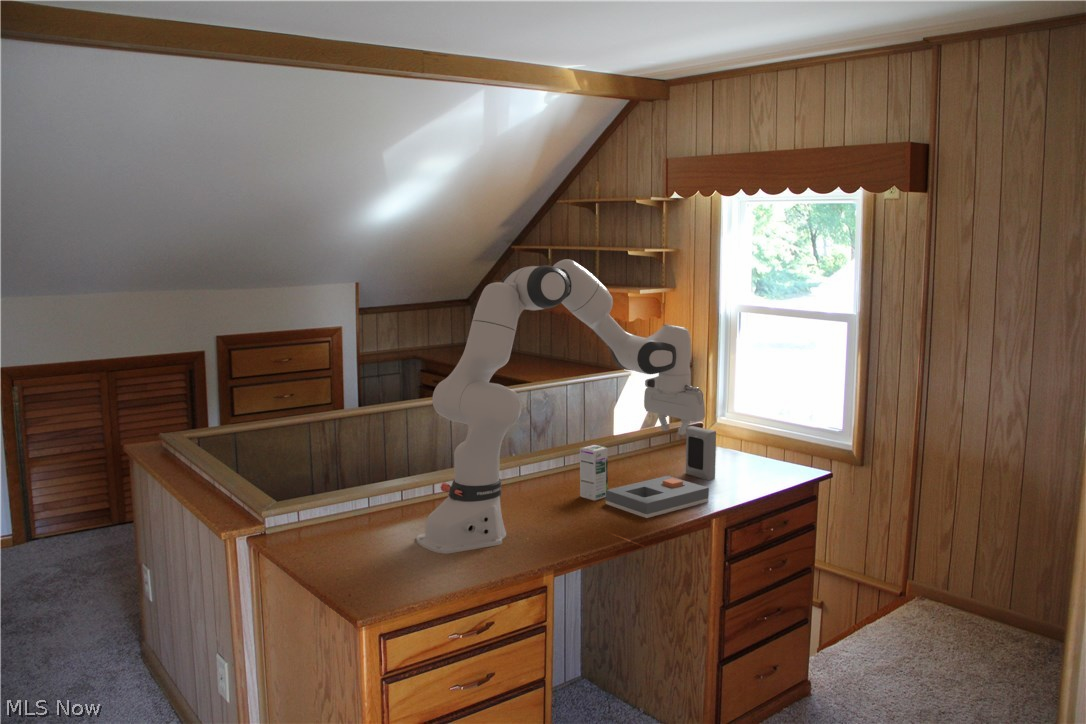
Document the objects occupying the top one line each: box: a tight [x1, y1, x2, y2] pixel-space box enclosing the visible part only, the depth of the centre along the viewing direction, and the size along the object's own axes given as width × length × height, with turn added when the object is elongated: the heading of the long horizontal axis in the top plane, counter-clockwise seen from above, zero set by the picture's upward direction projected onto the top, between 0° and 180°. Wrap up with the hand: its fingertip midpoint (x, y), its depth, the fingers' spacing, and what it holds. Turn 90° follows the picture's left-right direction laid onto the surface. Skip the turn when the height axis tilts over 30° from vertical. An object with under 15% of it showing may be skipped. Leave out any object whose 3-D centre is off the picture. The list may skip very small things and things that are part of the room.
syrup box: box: [579, 444, 609, 501], centre depth 258 cm, size 6×6×14 cm
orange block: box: [663, 477, 683, 488], centre depth 257 cm, size 4×4×2 cm
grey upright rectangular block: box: [685, 425, 717, 481], centre depth 279 cm, size 10×4×15 cm, turn 40°
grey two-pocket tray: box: [605, 475, 710, 519], centre depth 253 cm, size 24×16×4 cm, turn 128°
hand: (673, 432), depth 254 cm, fingers open, 5 cm apart
